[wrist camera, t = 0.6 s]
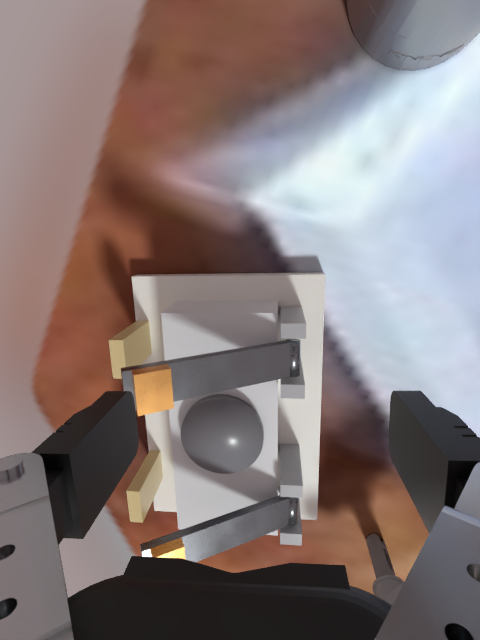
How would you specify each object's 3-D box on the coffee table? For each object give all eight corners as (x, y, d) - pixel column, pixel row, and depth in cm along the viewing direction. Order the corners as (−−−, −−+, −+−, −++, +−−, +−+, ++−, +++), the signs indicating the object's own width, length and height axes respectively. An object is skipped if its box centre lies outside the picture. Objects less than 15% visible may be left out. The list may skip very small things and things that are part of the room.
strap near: (120, 366, 21) (123, 377, 19) (295, 337, 25) (308, 344, 24) (124, 405, 21) (128, 418, 20) (294, 370, 26) (307, 378, 24)
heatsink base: (137, 274, 30) (100, 287, 24) (323, 272, 29) (335, 285, 23) (158, 501, 36) (133, 558, 30) (315, 510, 34) (323, 572, 28)
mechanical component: (324, 561, 36) (341, 686, 26) (405, 497, 33) (457, 610, 23) (347, 579, 36) (372, 710, 26) (429, 517, 33) (489, 637, 24)
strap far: (139, 541, 24) (144, 561, 22) (293, 488, 28) (305, 501, 27) (143, 571, 24) (147, 592, 23) (292, 514, 29) (304, 529, 27)
